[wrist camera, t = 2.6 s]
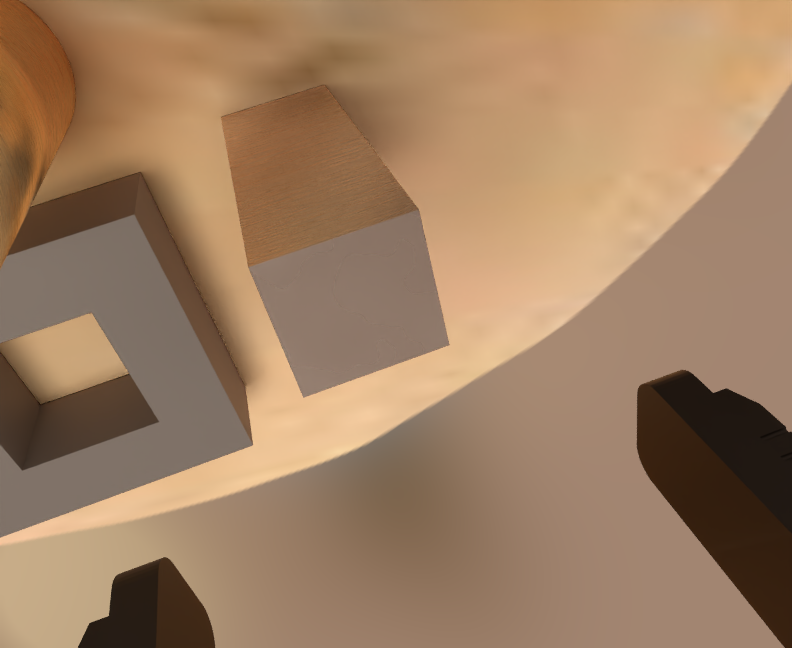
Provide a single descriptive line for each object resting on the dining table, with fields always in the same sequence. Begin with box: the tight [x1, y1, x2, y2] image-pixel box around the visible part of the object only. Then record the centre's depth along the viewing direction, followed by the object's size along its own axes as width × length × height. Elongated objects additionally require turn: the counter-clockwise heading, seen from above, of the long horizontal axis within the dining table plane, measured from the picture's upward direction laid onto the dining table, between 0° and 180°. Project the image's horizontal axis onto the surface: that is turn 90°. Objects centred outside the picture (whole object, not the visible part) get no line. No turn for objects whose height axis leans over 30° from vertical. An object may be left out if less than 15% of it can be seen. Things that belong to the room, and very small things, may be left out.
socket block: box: [0, 172, 253, 537], centre depth 25 cm, size 11×11×4 cm
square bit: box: [221, 85, 449, 398], centre depth 21 cm, size 4×4×12 cm
